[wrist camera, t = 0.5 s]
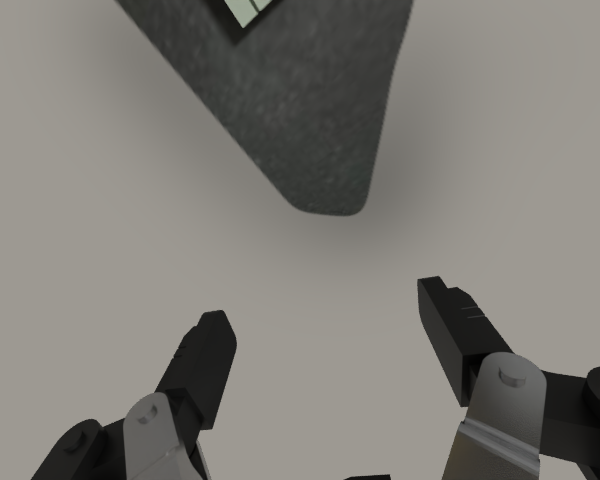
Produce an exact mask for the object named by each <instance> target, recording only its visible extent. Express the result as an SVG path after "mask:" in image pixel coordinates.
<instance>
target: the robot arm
mask: <svg viewBox="0 0 600 480" xmlns="http://www.w3.org/2000/svg"><path fill="white" fill-rule="evenodd" d="M417 286H418V303H419V313H420V318H421V321H422V324H423V327H424V329H425V331H426V333H427V335H428V337H429V340H430V342H431V344H432V346H433V348H434V350H435V353H436V355H437V357H438V359H439V361H440V363H441V366H442V368H443V370H444V372H445V374H446V376H447V378H448V381H449V383H450V385H451V387H452V389H453V392H454V394H455V396H456V398H457V400H458V402H459V404H460V407H468V410H467V413H466V416H465V419H464V421H463V422H462V421H461V423H460V425H459V427H458V430H457V433H456V436H455V439H454V442H453V445H452V448H451V451H450V455H449V458H448V461H447V464H446V467H445V470H444V474H443V477H442V480H539V470H540V459H539V454H543V455H547V456H551V457H555V458H559V459H563V460H567V461H571V462H575V463H576V464H577V465H578V467H579V468H580V470H581V471H582V473H583V474H584V476H585V478H586V479H587V480H600V367H596V368H594V369H592V370H590V372H589V373H588V375H587V378H582V377H576V376H569V375H562V374H556V373H551V372H546V371H543V370H540V369H539V368H538V367H537V366H536V365H535V364H533V363H532V362H531V361H529V360H527V359H526V358H524V357H522V356H519V355H516V354H515V353H514V352H513V351H512V350H511V349H510V347H509V346H508V345H507V344H506V342H505V341H504V339H503V338H502V337H501V335H500V334H499V333H498V332H497V330H496V329H495V328H494V326H493V325H492V324H491V322H490V321H489V320H488V318H487V317H485V314H484V313H483V312H482V310H481V309H480V308H478V305H477V304H476V303H475V301H474V300H473V299H472V298H471V296H470V295H469V294H467V293H466V292H464V291H462V290H461V289H459V288H458V287H454V288H447V287H446V285H445V284H444V282H443V281H442V279H441V278H440V277H439V276H435V277H429V278H422V279H418V282H417ZM236 347H237V342H236V337H235V334H234V332H233V330H232V328H231V325H230V323H229V321H228V319H227V316H226V314H225V312H224V311H223V310H217V311H211V312H205V313H203V315H202V316H201V318H200V320H199V322H198V325H197V326H194V327H193V328H192V329H191V330H190V331H189V332H188V333H187V334H186V335H185V336H184V337H183V339H182V342H181V343H180V345H179V347H178V349H177V351H176V353H175V354H174V358H173V359H172V360H171V362H170V364H169V366H168V368H167V370H166V371H165V373H164V375H163V377H162V379H161V381H160V383H159V384H158V386H157V388H156V390H155V392H154V393H152V394H149V395H147V396H145V397H144V398H142V399H141V400H140V401H138V402H137V403H136V404H135V405H134V406H133V407H132V408H131V410H130V411H129V412H128V414H127V416H126V417H125V418H123V419H121V420H119V421H116V422H114V423H111V424H109V425H106V426H104V427H102V426H101V425H100V424H99V423H98V421H97V420H94V419H88V420H85V421H82V422H80V423H78V424H76V425H75V426H73V427H72V428H71V429H69V430H68V431H67V432H66V433H65V434H64V435H63V436H62V437H61V438H60V439H59V440H58V441H57V443H56V444H55V445H54V447H53V448H52V450H51V451H50V453H49V454H48V456H47V457H46V458H45V460H44V461H43V463H42V464H41V466H40V467H39V469H38V470H37V471H36V473H35V474H34V476H33V477H32V479H31V480H211V477H210V474H209V471H208V468H207V465H206V462H205V459H204V456H203V452H202V450H201V446H200V444H199V441H198V440H197V438H198V435H199V432H200V430H209V429H212V428H213V425H214V422H215V418H216V415H217V412H218V408H219V405H220V402H221V398H222V395H223V392H224V389H225V385H226V382H227V379H228V375H229V372H230V368H231V365H232V362H233V359H234V355H235V352H236ZM345 480H391V478H390V475H372V476H356V477H349V478H347V479H345Z"/></svg>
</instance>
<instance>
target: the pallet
mask: <svg viewBox="0 0 600 480" xmlns="http://www.w3.org/2000/svg"><path fill="white" fill-rule="evenodd" d="M224 1H225V2H226V4H227V5H228V7H229V8H230V10H231V11H232V13H233V14H234V16H235V17H236V19H237V20H238V22H239V23H240V25H241V26H242V28H245V27H246V26H247V25H248V24H249V23H250V22H251V21H252V20H253V19H254V18H255V17H256V16H257V15H258V12H259V11H262V10H263V9H264V8H265V7H266V6H267V5H268V4H269V3H270V2H271V1H272V0H224Z"/></svg>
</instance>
